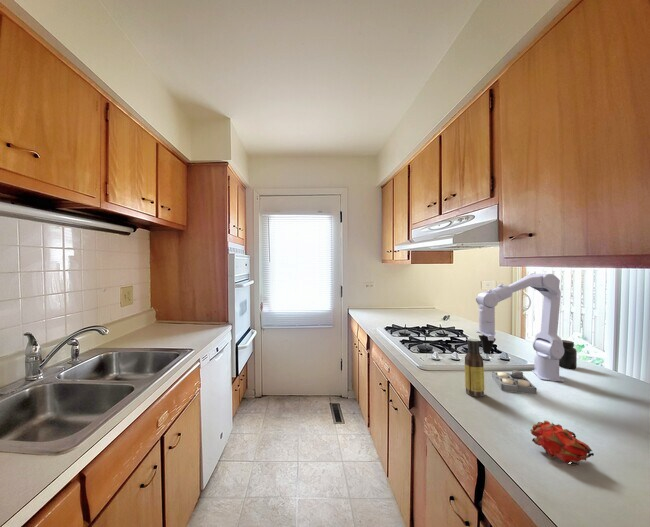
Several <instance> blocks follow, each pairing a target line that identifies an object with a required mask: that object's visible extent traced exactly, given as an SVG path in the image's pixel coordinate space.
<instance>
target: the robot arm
mask: <svg viewBox="0 0 650 527" xmlns="http://www.w3.org/2000/svg"><path fill="white" fill-rule="evenodd" d="M560 283H561V280H560V279H559V278H558V277H557V276H556V275H555V274H554V273H536V272H533V273H530V274H527V275H525V276H524V277H522V278H520V279H518V280H516V281H515V282H512V283H510V284H508V285H506V284H497V287H494V288H492V289H487V292H485V291H483V292H480V293H478V295H477V296H476V298H475V302H476V303H477V305H478V330H475V332H476V334H480V335H478V338H479V341H480V343H481V347H482V351H483V353H484V355H490V354H491V352H492V348H493V345H494V343H495V342H496V340H497V339H496V337H495V336H496V332H495V331H496V317H495V315H496V314H495V313H496V312H495V310H496V308H495V307H496V306H497V305H498V304H499V303H500V302H502V301H504V300H506V299H509V298H511V297H512V296H513V293H516V292H518V291H521V290H524V289H527V288H529V287H530V288H532V289H534V290H535V291H538V292H539V293H540V294H541V295H542V296H543V299H542V300H543V301H542V304H543V305H542V310H541V311H542V314H541V324H540V331H539V332H538V333H536V334H535V338H534V340H533V341H532V348H533V350H534V351H535V353H536V354H535V356H534V358H533V360H534V369H532V370H531V372H532V373H533V374H534V375H535V376H536V377H538V379H539V380H542V381H544V380H545V381H552V382H562V383H563V382H565V379H563V378H561V377H560V366H559V359H561V357H562V356H563V355H564V347H563V341H562V340H563V339H562V338H561V337H560V336H559V335H558V332H559V330H558V328H559V318H560V317H559V316H560V306H561V296H562V293H561V287H560Z"/></svg>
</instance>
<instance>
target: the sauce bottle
mask: <svg viewBox="0 0 650 527" xmlns="http://www.w3.org/2000/svg"><path fill="white" fill-rule="evenodd" d="M466 342H467V352H466V354H465V356H464V382H465V384H464V386H465V393H466V394H467V395H469V396H471V397H476V398H479V397H484V395H485V368H484V366H485V364H484V358H483V357H482V355H481V354H480V343H481V342H480V339H477V338H467V339H466Z"/></svg>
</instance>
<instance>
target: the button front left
mask: <svg viewBox="0 0 650 527" xmlns="http://www.w3.org/2000/svg"><path fill="white" fill-rule="evenodd" d="M518 385H521V386H529V382H528V381H525V380H518Z"/></svg>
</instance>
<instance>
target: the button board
mask: <svg viewBox="0 0 650 527" xmlns="http://www.w3.org/2000/svg"><path fill="white" fill-rule="evenodd" d="M498 372H499V371H492V372H491V378H492V379H493V380H494V382H495V384H496V385H497V386H498V388H499V389H500V390H501V391H503V392H510V393H519V394H529V395H537V390H538V389H537V387H535V385H534V384H533V383H532V382H531V381H530V380H528V378H527V377H526V376H525V375H524V374H523V378H522V379H518V378H514V377H512V373H508V372H506V373H507V374H508V378H509V379H512V380H513V385H512V384H503V383H502V378H503V377H498V376H497V373H498ZM518 380H525V381H528V382H529V386H521V385H518Z"/></svg>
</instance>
